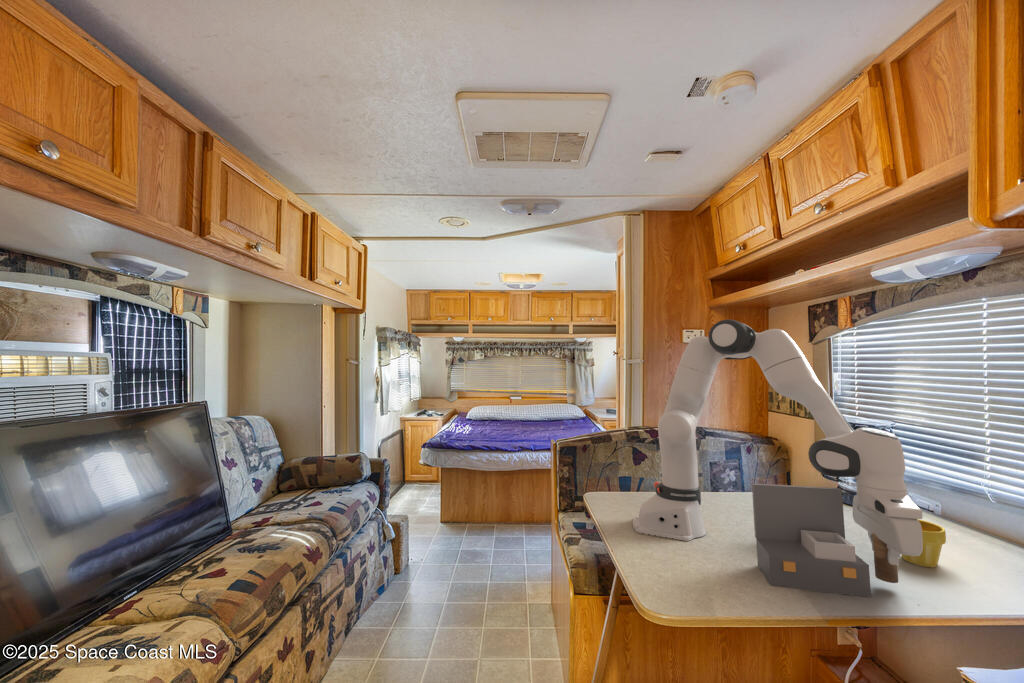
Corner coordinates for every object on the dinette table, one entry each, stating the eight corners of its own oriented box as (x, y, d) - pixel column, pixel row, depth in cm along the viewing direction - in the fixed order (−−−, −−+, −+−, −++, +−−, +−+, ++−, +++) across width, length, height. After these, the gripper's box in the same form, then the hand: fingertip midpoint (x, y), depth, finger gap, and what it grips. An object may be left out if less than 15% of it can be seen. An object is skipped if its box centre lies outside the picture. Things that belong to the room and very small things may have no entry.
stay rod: (881, 581, 93) (878, 537, 94) (871, 573, 97) (868, 530, 97) (902, 584, 92) (899, 539, 92) (891, 575, 96) (888, 532, 96)
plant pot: (960, 573, 101) (956, 533, 101) (909, 568, 103) (906, 529, 104) (930, 555, 111) (926, 518, 111) (884, 551, 113) (881, 515, 114)
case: (771, 586, 96) (766, 496, 97) (756, 563, 107) (751, 483, 109) (872, 598, 90) (865, 503, 92) (845, 572, 102) (839, 488, 103)
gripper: (843, 484, 106) (846, 538, 105) (891, 511, 87) (896, 577, 86) (872, 486, 105) (875, 541, 104) (928, 514, 85) (933, 582, 84)
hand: (885, 558), depth 95 cm, fingers closed on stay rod, 4 cm apart
